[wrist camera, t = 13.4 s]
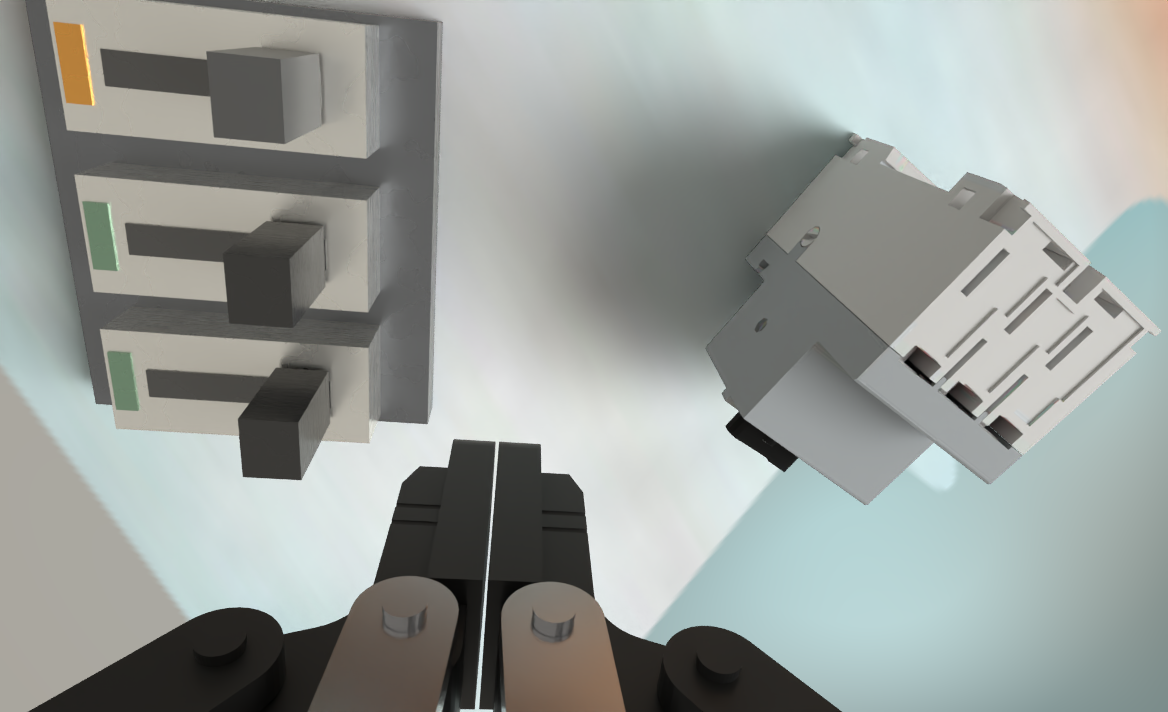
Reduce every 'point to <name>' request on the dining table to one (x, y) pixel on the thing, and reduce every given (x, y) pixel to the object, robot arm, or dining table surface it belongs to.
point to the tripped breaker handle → (264, 94)
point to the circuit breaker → (914, 326)
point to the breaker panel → (247, 222)
